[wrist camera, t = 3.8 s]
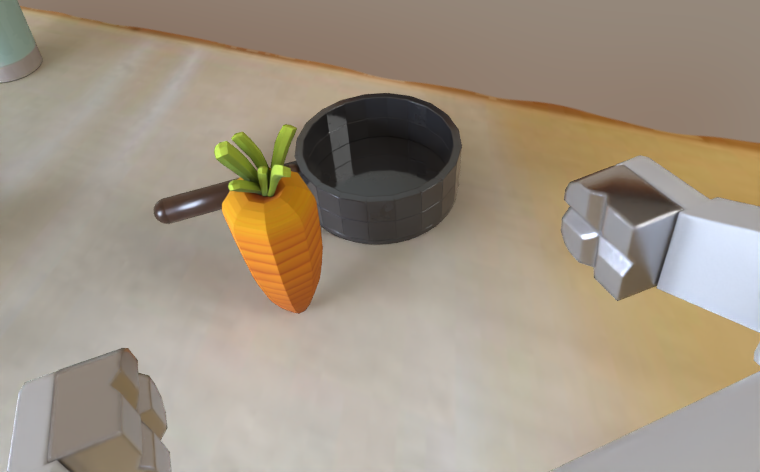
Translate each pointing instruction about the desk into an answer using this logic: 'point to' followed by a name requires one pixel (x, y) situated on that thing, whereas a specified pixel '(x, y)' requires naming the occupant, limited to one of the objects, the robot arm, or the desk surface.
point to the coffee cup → (16, 43)
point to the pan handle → (197, 201)
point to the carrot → (273, 221)
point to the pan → (380, 167)
